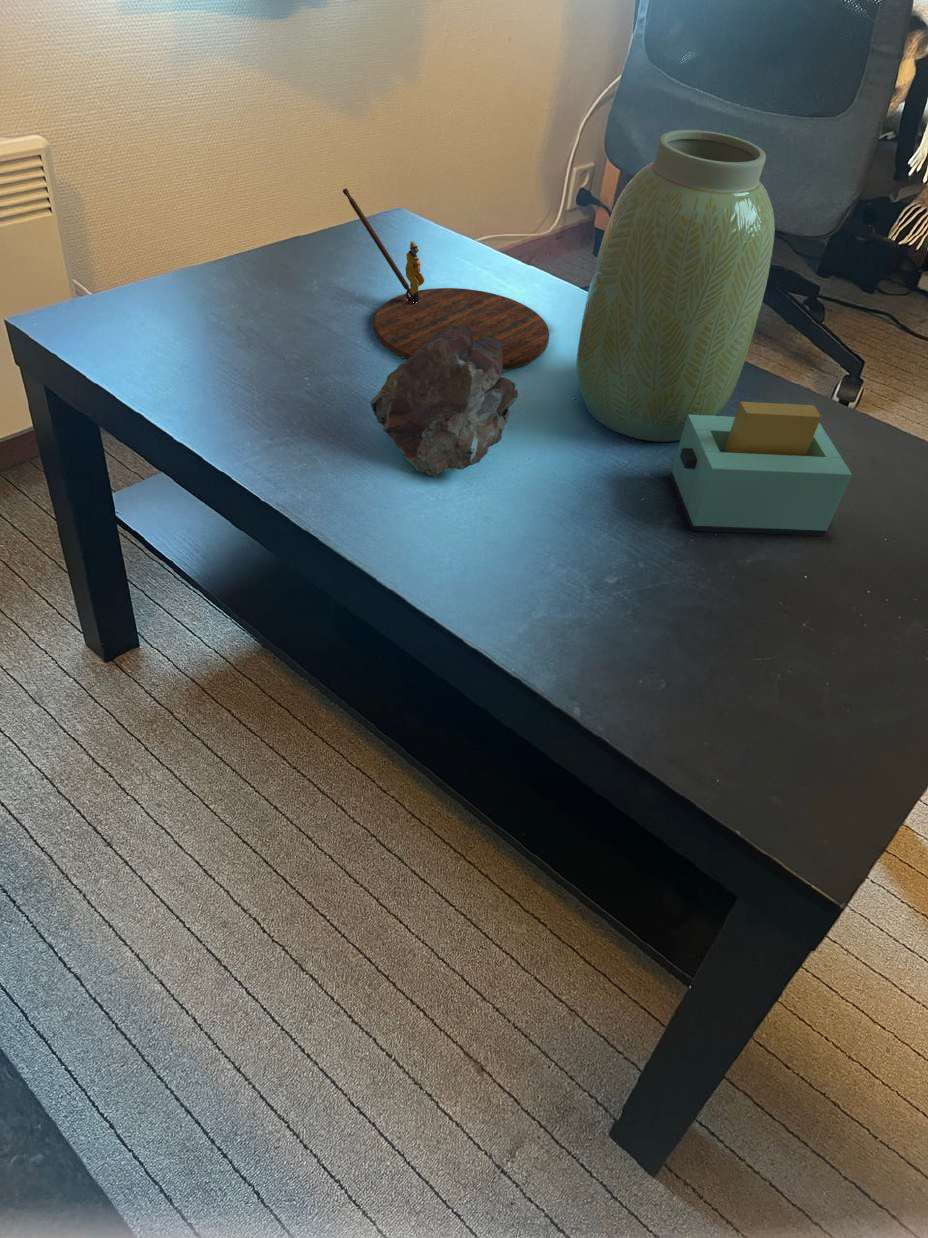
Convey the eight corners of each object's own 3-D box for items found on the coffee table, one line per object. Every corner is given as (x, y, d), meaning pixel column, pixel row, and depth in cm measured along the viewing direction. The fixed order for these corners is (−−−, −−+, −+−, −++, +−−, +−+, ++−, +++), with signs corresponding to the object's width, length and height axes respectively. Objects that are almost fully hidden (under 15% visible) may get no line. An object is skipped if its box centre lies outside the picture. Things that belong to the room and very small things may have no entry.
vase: (614, 355, 110) (669, 106, 92) (748, 409, 104) (835, 152, 86) (538, 410, 100) (583, 139, 81) (682, 473, 93) (766, 194, 75)
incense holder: (476, 394, 101) (488, 295, 93) (283, 301, 113) (279, 207, 105) (581, 335, 114) (598, 244, 106) (397, 257, 126) (401, 170, 118)
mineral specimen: (385, 490, 95) (453, 390, 101) (488, 502, 87) (555, 393, 94) (330, 402, 86) (409, 300, 93) (439, 407, 79) (516, 295, 85)
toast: (778, 495, 91) (814, 404, 84) (785, 507, 89) (821, 416, 83) (709, 492, 90) (739, 401, 83) (714, 504, 89) (746, 412, 82)
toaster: (794, 480, 94) (818, 420, 89) (824, 536, 88) (852, 474, 83) (660, 475, 93) (677, 413, 88) (680, 530, 86) (700, 467, 81)
